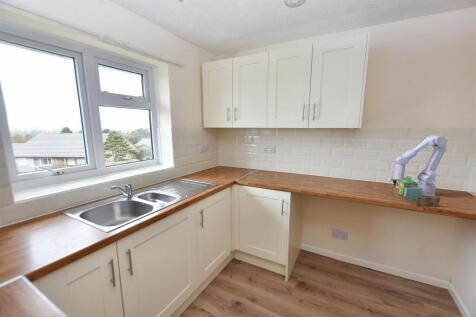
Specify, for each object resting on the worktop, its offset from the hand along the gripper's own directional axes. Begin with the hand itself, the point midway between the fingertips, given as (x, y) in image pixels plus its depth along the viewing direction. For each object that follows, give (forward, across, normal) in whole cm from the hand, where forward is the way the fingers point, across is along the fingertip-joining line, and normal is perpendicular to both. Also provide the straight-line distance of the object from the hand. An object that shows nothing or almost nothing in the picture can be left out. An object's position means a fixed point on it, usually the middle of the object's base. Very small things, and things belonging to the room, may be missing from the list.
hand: (397, 189), depth 156 cm
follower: (+2, 0, +14) cm, 14 cm away
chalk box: (+3, 0, +7) cm, 8 cm away
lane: (+2, 0, +16) cm, 16 cm away
